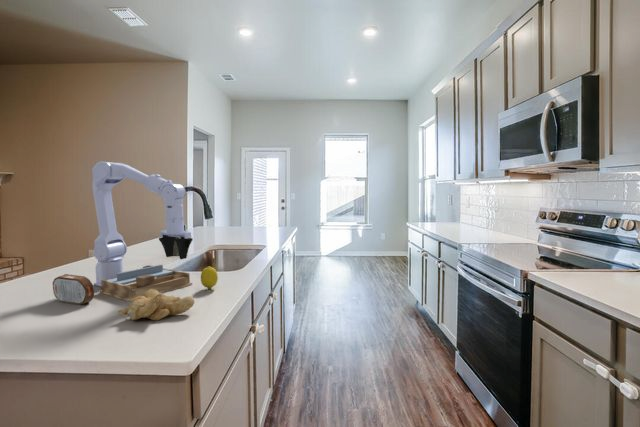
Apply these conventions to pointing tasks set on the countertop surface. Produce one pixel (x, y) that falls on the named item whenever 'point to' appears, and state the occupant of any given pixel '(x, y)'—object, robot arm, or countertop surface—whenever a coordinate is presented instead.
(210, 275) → the lemon
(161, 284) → the wooden tray
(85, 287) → the tin
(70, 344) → the countertop surface
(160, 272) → the lid
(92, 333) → the countertop surface
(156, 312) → the ginger root
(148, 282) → the block
